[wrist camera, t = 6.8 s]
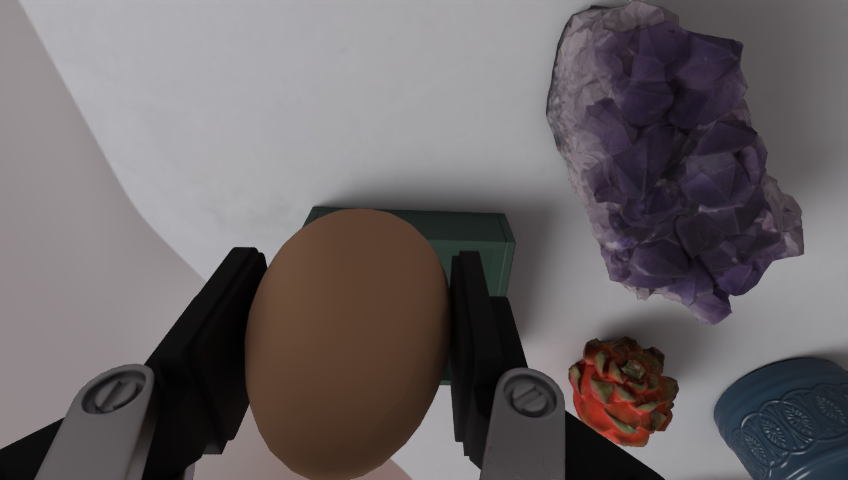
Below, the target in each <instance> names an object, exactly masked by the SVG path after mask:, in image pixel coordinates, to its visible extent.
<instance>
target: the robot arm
mask: <svg viewBox="0 0 848 480" xmlns="http://www.w3.org/2000/svg"><path fill="white" fill-rule="evenodd" d="M266 270H267V264H266V260H265V256H264V254H263V253H260V252H258V250H257V248H255V247H234V248H233V249H232V250H231V251H230V252H229V254H228V255H227V256H226V258H225V259H224V260H223V262H222V263H221V264H220V266H219V267H218V268H217V270H216V271H215V272H214V274H213V275H212V276H211V278H210V279H209V280H208V282H207V283H206V284H205V286H204V287H203V288H202V290H201V291H200V292H199V294H198V295H197V296H196V297H195V298H194V299H193V300H192V301H191V303H190V304H189V306H188V307H187V308H186V310H185V311H184V312H183V313H182V315H181V316H180V317H179V319H178V320H177V321H176V323H175V324H174V326H173V327H172V328H171V329H170V331H169V332H168V333H167V335H166V336H165V337H164V339H163V340H162V341H161V343H160V344H159V346H158V347H157V348H156V349H155V351H154V352H153V353H152V355H151V356H150V357H149V359H148V360H147V361H146V363H145V364H144V365H141V364H129V365H123V366H119V367H116V368H112V369H110V370H108V371H106V372H104V373H102V374H100V375H98V376H97V377H95V378H94V379H92V380H91V381H89V382H88V383H87V384H86V385H85V386H84V387H83V388H82V389H81V390H80V391H79V392H78V394H77V395H76V397H75V398H74V400H73V402H72V404H71V406H70V408H69V410H68V412H67V414H66V416H65V417H64V418H62V419H60V420H58V421H57V422H54V423H52V424H50V425H48V426H46V427H45V428H42V429H40V430H38V431H36V432H34V433H32V434H30V435H28V436H26V437H24V438H22V439H20V440H18V441H16V442H14V443H12V444H10V445H8V446H6V447H4V448H2V449H0V480H193V477H194V470H195V462H196V461H197V460H199V459H200V458H201V457H202V455H203V454H222V453H223V450H224V448H225V446H226V443H227V441H228V440H233V439H234V438H235V436H236V434H237V432H238V430H239V427H240V425H241V422H242V420H243V418H244V415H245V413H246V411H247V408H248V406H249V398H248V394H247V389H246V378H245V333H246V328H247V322H248V316H249V311H250V308H251V305H252V302H253V299H254V297H255V294H256V292H257V289H258V287H259V284H260V282H261V280H262V278H263V276H264V274H265V272H266ZM450 295H451V307H452V319H453V327H452V336H451V344H450V353H449V370H450V383H451V396H452V409H453V422H454V434H455V441H456V442H463V448H464V456H469V458H470V460H471V461H472V462H473V463H474V464H475V465H476V466H477V467H478V468H479V469H481V473H480V479H479V480H665V479H664V478H663V477H661V476H660V475H659V474H658V473H656V472H655V471H653V470H652V469H651V468H649V467H648V466H646V465H645V464H643V463H642V462H640V461H639V460H637V459H636V458H634V457H633V456H632V455H630V454H629V453H627V452H626V451H624V450H623V449H621V448H620V447H618V446H617V445H615V444H614V443H613V442H611V441H610V440H608V439H607V438H605V437H604V436H602V435H601V434H599V433H598V432H596V431H595V430H594V429H592V428H591V427H589V426H588V425H586V424H585V423H583V422H582V421H580V420H579V419H578V418H576V417H575V416H573V415H572V414H570V413H569V412H567V411H566V410H565V400H564V395H563V393H562V391H561V389H560V387H559V386H558V385H557V384H556V383H555V381H554V380H553V379H552V378H550V377H549V376H547V375H546V374H544V373H542V372H540V371H537V370H534V369H530V368H528V365H527V362H526V358H525V355H524V351H523V348H522V345H521V341H520V338H519V334H518V331H517V327H516V324H515V320H514V317H513V314H512V310H511V307H510V303H509V300H508V298H507V297H506V296H489V292H488V288H487V283H486V279H485V274H484V270H483V266H482V261H481V257H480V253H479V251H459V256H457V255H452V262H451V276H450Z"/></svg>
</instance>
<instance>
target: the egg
mask: <svg viewBox="0 0 848 480" xmlns="http://www.w3.org/2000/svg"><path fill="white" fill-rule="evenodd" d="M452 327H453V319H452V307H451V295H450V288H449V284H448V280H447V276H446V272H445V270H444V268H443V266H442V264H441V262H440V260H439V258H438V256H437V254H436V252H435V251H434V249H433V248H432V247H431V245H430V244H429V242H428V241H427V240H426V239H425V238H424V237H423V236H422V235H421V234H420V233H419V232H418V231H417V230H416V229H415V228H414V227H413V226H412V225H411V224H409V223H408V222H406V221H404V220H402V219H401V218H399V217H397V216H395V215H393V214H391V213H388V212H383V211H378V210H373V209H367V208H363V209H344V210H339V211H335V212H333V213H330V214H328V215H325V216H323V217H320V218H318V219H316V220H314V221H313V222H311V223H310V224H308V225H306V226H305V227H303V228H302V229H300V230H299V231H298V232H297V233H295V234H294V235H293V236H292V237H291V238H290V239H289V240H288V241H287V242H286V243H285V244H284V245H283V246H282V247H281V249H280V250H279V251H278V253H277V254H276V256H275V257H274V259H273V260H272V262H271V264H270V265H269V267H268V269H267V270H266V272H265V274H264V276H263V278H262V280H261V282H260V284H259V287H258V289H257V292H256V294H255V297H254V299H253V302H252V305H251V308H250V311H249V316H248V322H247V328H246V333H245V378H246V389H247V394H248V398H249V403H250V407H251V410H252V413H253V416H254V418H255V421H256V424H257V427H258V429H259V432H260V434H261V435H262V437H263V439H264V441H265V442H266V444H267V446H268V448H269V449H270V451H271V452H272V453H273V454H274V455H275V456H276V457H277V458H278V459H280V460H281V461H282V462H283V463H284V464H285V465H286V466H287V467H288V468H289V469H290V470H291V471H293V472H295V473H297V474H299V475H301V476H303V477H305V478H308V479H310V480H350V479H354V478H357V477H360V476H363V475H365V474H367V473H368V472H370V471H372V470H374V469H375V468H377V467H379V466H381V465H382V464H383V463H385V462H386V461H387V460H388V459H389V458H390V457H391V456H392V455H393V454H395V453H396V452H397V451H398V450H399V449H400V448H401V447H402V446H403V445H405V444H406V442H407V441H408V440H409V439H410V437H411V436H412V435H413V433H414V432H415V431H416V430H417V428H418V427H419V426H420V424H421V422H422V420H423V419H424V417H425V415H426V413H427V411H428V409H429V407H430V406H431V404H432V402H433V399H434V397H435V395H436V392H437V390H438V388H439V385H440V382H441V380H442V377H443V374H444V371H445V368H446V365H447V362H448V360H449V353H450V344H451V336H452Z"/></svg>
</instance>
